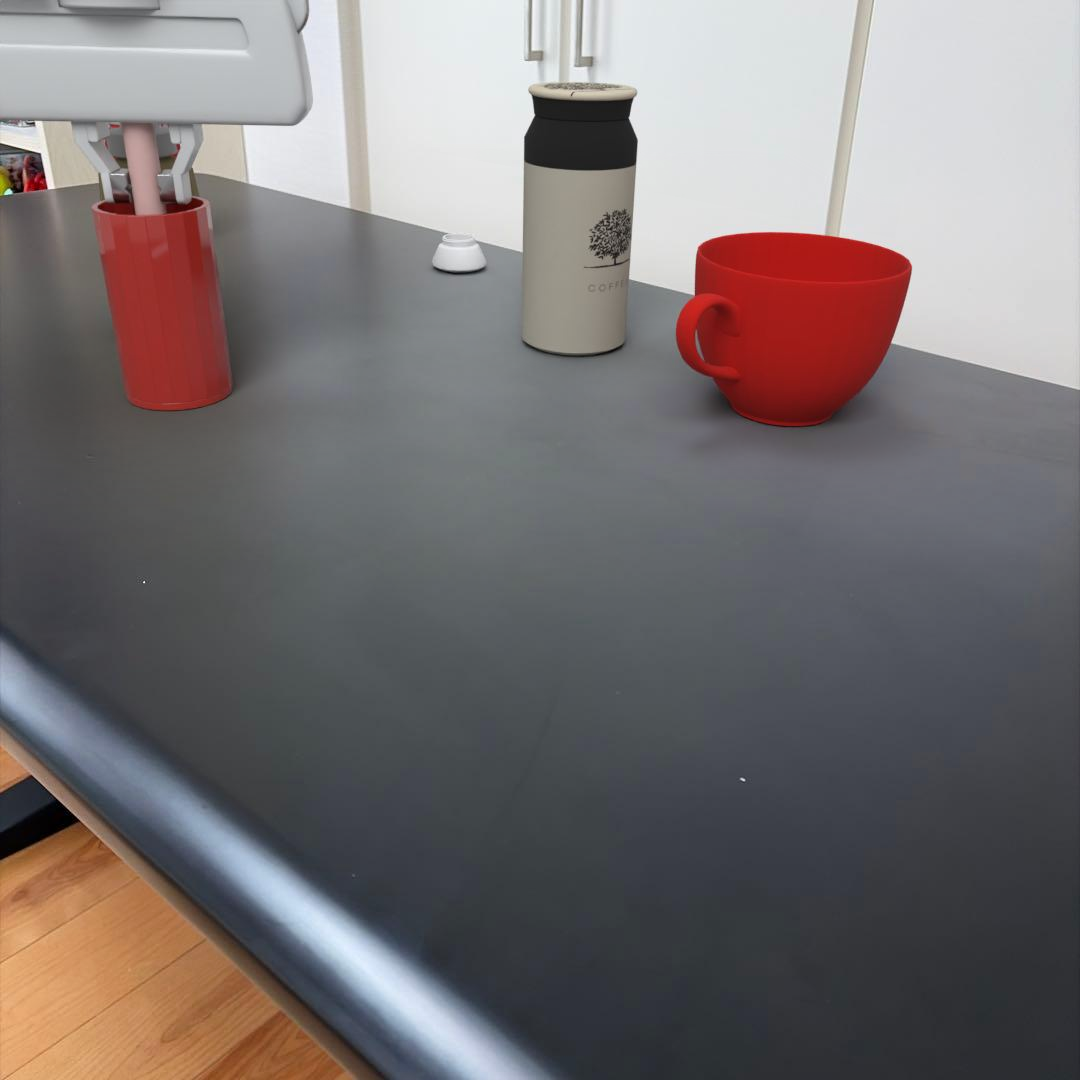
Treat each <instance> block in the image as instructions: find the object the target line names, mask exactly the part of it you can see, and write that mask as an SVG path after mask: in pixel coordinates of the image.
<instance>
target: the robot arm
mask: <svg viewBox="0 0 1080 1080" xmlns="http://www.w3.org/2000/svg"><path fill="white" fill-rule="evenodd" d="M309 16H310V1H309V0H0V121H17V122H18V121H20V122H21V121H23V122H24V121H26V122H28V121H29V122H67V123H68V122H70V124H71V129H72V137H73V141H74V143H75V145H76V146H77V148H78V149H79V150H80V152H81V153H82V154H83V156H84V157H85V158H86V159H87V160H88V163H90V164H91V166H92V167H93V168H94V170H95V171H96V172H97V174H98V173H100V175H101V180H102V186H103V192H104V197H105V200H106V202H107V203H113V204H116V203H134V201H133V194H132V188H131V182H130V176H129V169H121V168H120V167H119V165H118V164H117V162H116V161H115V159H114V158H113V156H112V155H111V153H110V152H109V150H108V149H107V147H106V146H105V145H104V143H103V142H102V140H104V139H106V138H108V137H109V136H110V134H109V127H108V122H117V123H167V124H168V125H169V132H170V138H171V142H172V143H173V144H180V147H181V148H180V150H179V153H178V155H177V158H176V160H175V163H174V165H173V168H172V169H171V170H163V171H161V172H160V173H158V174H156V175H157V182H158V187H159V188H160V189H161V192H160V193H159V196H160V201H161V203H162V204H184V205H187V204H188V203H189V202H191V198H192V193H191V185H190V177H189V170H190V169H191V167H192V168H193V165H194V163H195V160H196V158H197V156H198V153H199V151H200V149H201V146H202V144H203V143H204V132H203V125H217V126H220V125H222V126H223V125H224V126H225V125H227V126H267V127H268V126H274V127H293V126H297V125H299V124H300V123H301V122H302V121H304V120H305V118H307V116H308V115H309V113H310V112H311V110H312V108H313V105H314V94H313V86H312V78H311V71H310V65H309V60H308V53H307V49H306V43H305V40H304V36H303V30H304V29H305V27H306V25H307V23H308V21H309Z"/></svg>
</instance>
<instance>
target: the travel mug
mask: <svg viewBox="0 0 1080 1080" xmlns="http://www.w3.org/2000/svg"><path fill="white" fill-rule="evenodd" d="M527 91H528V93H529V94H530V95H531V99H532V107H533V115H534V116H533V118H532V120H531V121H530V124H529V126H528V128H527V130H526V132H525V134H524V137H523V198H522V202H523V203H522V204H523V206H522V209H523V210H522V266H521V267H522V269H521V270H522V271H521V273H522V275H521V276H522V277H521V338H522V340H523V341H524V342H525V343H526V344H528V345H529V346H531V347H532V348H534V349H537V350H539V351H541V352H545V353H548V354H555V355H561V356H572V357H576V356H577V357H579V356H594V355H598V354H599V355H600V354H604V353H607V352H610V351H612V350H614V349H616V348H619V347H620V346H621V345H623V344H624V343H625V341H626V335H627V333H626V332H627V317H628V316H627V315H628V304H629V303H628V299H629V286H630V285H629V284H630V269H631V254H632V253H631V252H632V238H633V224H634V223H633V221H634V206H635V192H636V178H637V177H636V174H637V161H638V147H639V146H638V143H639V140H638V137H637V134H636V131H635V129H634V127H633V124H632V122H631V120H630V117H631V112H632V106H633V102H634V99H635V97H637V95H638V90H637V89H636V88H635V87H634V86H630V85H626V84H624V85H623V84H616V83H606V82H591V81H589V82H588V81H553V82H552V81H551V82H540V83H539V82H538V83H534V84H531V85H530V86H529V87H528V90H527Z"/></svg>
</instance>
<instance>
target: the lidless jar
mask: <svg viewBox="0 0 1080 1080" xmlns="http://www.w3.org/2000/svg"><path fill="white" fill-rule="evenodd" d="M441 240H442V242H440V243H439V244H438V246H437V249H436V251H435V253H434V255H433V257H432V259H431V261H432V263H431V264H432V265H433V267H435V268H437V269H439V270H441V271H444V272H449V273H456V274H461V273H462V274H463V273H464V274H465V273H471V272H475V271H478V270H480V269H483V268H485V266H487V260H486V257H485V255H484V253H483V250H482V248H481V247H480V244H479V243H477V242H476V241H477V240H476V236H475V235H474V234H471V233H470V234H469V233H459V232H456V233H455V232H453V233H447V234H443V236H442V239H441Z"/></svg>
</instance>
